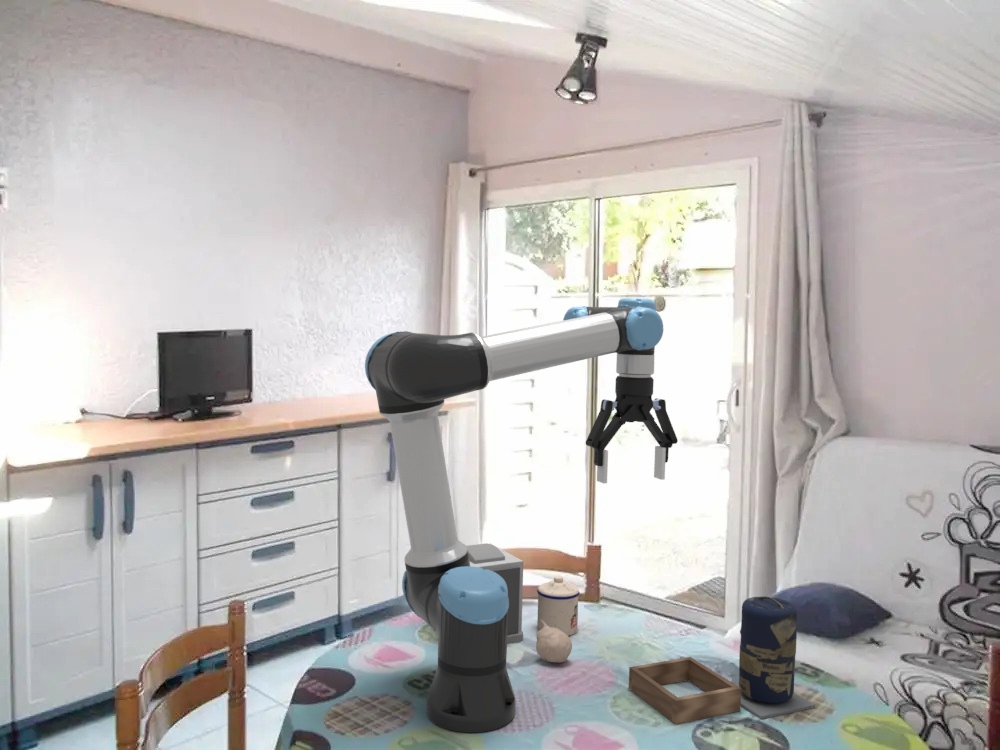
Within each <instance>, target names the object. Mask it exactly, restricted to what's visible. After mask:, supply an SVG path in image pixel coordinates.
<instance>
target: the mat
mask: <svg viewBox="0 0 1000 750" xmlns="http://www.w3.org/2000/svg"><path fill="white" fill-rule="evenodd" d="M734 684H735V685H737V686H738V687H739V682H738V683H734ZM741 707H742V709H744V710H746V711H747V712H749V713H751V714H752V715H754V716H755V717H757V718H758V719H759V720H764V719H767V718H772V717H777V716H778V717H779V716H782V715H788V714H792V713H797V712H801V710H802V711H806V710H809V709H808V708H811V709H813V708H812V707H815V708H816V704H814V703H812V702H811V701H809V700H807V699H805V698H804V697H803V696H801V695H798V694H797V693H796V692H794V693H793V696H792V698H791V699H790V700H788V701H786V702H783V703H764V702H759V701H756V700H753V699H751V698H749V697H747V696H745V695H744V694H743V693H742V692H741ZM741 707H740V708H741ZM805 709H806V710H805Z"/></svg>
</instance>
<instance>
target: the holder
mask: <svg viewBox="0 0 1000 750" xmlns="http://www.w3.org/2000/svg"><path fill="white" fill-rule="evenodd" d="M685 681H687V682H688V681H689V682H690V683H692V684H693V685H695V686H696V687H697V688H700V689H701V690H702V691H704V692H699V693H693V694H689V695H684V696H683V695H682V696H679V697H678V696H676V695H675V693H672V692H671V691H669V690H668V689H667V688H666V687H664V685H671V684H676V683H682V682H685ZM735 684H736V683H733V682H732V681H731V680H728V679H727V678H725V677H724V676H722V675H721V674H719V673H717V672H716V671H714V670H712V669H711V668H709V667H708V666H706V665H705V664H703V663H701V662H700V661H698V660H696V659H695V658H693V657H691V656H688V657H687V656H686V657H683V658H681V657H680V658H676V659H669V660H663V661H657V662H651V663H646V664H639V665H634V666H629V667H628V690H630V691H631V692H632V693H634V694H635V695H636V696H638V697H639V698H640V699H642V700H643V701H645V702H646V703H647V704H648V705H650V706H651V707H652V708H654V709H655V710H656V711H658V712H659V713H660V714H662V715H663V716H664V717H665V718H666V719H668V720H669V721H671V722H672V723H673V724H675V725H678V724H684V723H688V722H693V721H698V720H702V719H703V720H704V719H707V718H712V717H717V716H722V715H727V714H731V713H736V712H737V713H738V712H740V711H741V688H740V687H738V686H737V685H735Z"/></svg>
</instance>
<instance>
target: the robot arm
mask: <svg viewBox="0 0 1000 750" xmlns="http://www.w3.org/2000/svg"><path fill="white" fill-rule="evenodd" d="M663 334H664V322H663V319H662V317H661V315H660V314H659V313H658V311H657V309H656V302H655V301H654V300H653V299H651V298H632V297H629V298H625V297H624V298H623V297H622V298H620V299H619V300H618V304H617V307H614V306H586V305H585V306H583V305H582V306H573V307H570V308H568V309H567V310H566V312H565V314H564V317H563V319H562V320H559V321H555V322H549V323H543V324H539V325H534V326H530V327H525V328H524V327H523V328H520V329H513V330H509V331H505V332H500V333H494V334H489V335H483V336H479V335H478V334H477V333H476V332H468V333H463V334H451V335H449V334H448V335H446V334H445V335H444V334H443V335H442V334H433V333H431V334H430V333H415V332H411V331H407V330H404V331H395V332H390V333H388V334H385V335H382V336H380V337H379V338H378V339H377V340H376V341H375V342H374V343H373V344H372V345H371V347H370V348H369V350H368V351H367V354H366V357H365V361H364V372H365V376H366V378H367V380H368V382H369V385H370V386H371V387H372V388H373V389H374V391H375V393H376V400H377V406H378V412H379V414H380V415H381V416H382V417H383V418H385V419H387V421H388V422H389V423H390V424H389V426H390V430H391V437H392V443H393V448H394V455H395V459H396V460H395V461H396V466H397V467H396V468H397V473H398V478H399V485H400V490H401V496H402V502H403V509H404V513H405V514H404V515H405V521H406V525H407V532H408V536H409V537H408V539H409V545H410V549H409V551H407V553H406V554H405V555H404V560H403V561H404V566H405V571H404V572H403V575H402V580H401V583H402V584H401V588H402V594H403V596H404V600H405V601H406V603H407V606H408V607H409V608H410V609H411V611H412V613H414V614H415V615H416V616H417V617H419V618H420V619H422V620H423V621H424V622H425V623H426V624H427V625H428V626H429V627H430V628H431V629H433V631H435V632H436V633H437V635H438V637H437V641H438V642H437V667H436V671H435V674H434V676H433V679H432V682H431V685H430V687H429V691H428V694H427V696H426V711H425V712H426V716H427V718H428V719H429V720H430V721H431V723H433V724H435V725H436V726H438V727H441V728H443V729H447V730H449V731H450V730H451V731H453V732H454V731H455V732H461V733H482V732H483V733H484V732H488V731H493V730H497V729H500V728H502V727H504V726H506V725H508V724H509V723H510V722H511V721H513V719H514V718H515V715H516V705H517V704H516V703H517V702H516V696H515V692H514V689H513V686H512V683H511V679H510V676H509V672H508V670H507V654H508V653H507V652H508V651H507V648H508V644H507V625H508V608H509V598H508V589H507V585H506V582H505V581H504V579H503V578H502V577H501V576H500V575H498V574H497V573H495V572H493V571H491V570H488V569H487V570H483V569H482V568H480V567H472V566H470V561H469V555H468V549H467V546H468V545H466V544H465V543H464V542H462V541H460V540H459V539H458V535H457V527H456V521H455V514H454V509H453V503H452V502H453V501H452V496H451V490H450V484H449V478H448V471H447V464H446V457H445V452H444V446H443V439H442V434H441V432H442V431H441V427H440V422H439V421H440V420H439V411H441V409H442V407H443V406H444V405H445V400H447V399H450V398H453V397H458V396H461V395H464V394H468V393H472V392H475V391H481V390H484V389H486V388H487V387H488V385H489V383H490V382H493V381H496V380H500V379H501V380H502V379H505V378H510V377H513V376H518V375H523V374H526V373H532V372H535V371H536V372H537V371H540V370H545V369H548V368H554V367H557V366H562V365H565V364H570V363H574V362H579V361H583V360H588V359H592V358H597V357H601V356H605V355H610V354H616V366H615V367H616V368H615V371H616V374H618V375H617V376H616V377H615V385H614V386H615V391H614V392H615V397H616V398H615V400H609V399H602V400H601V404H600V410H599V413H598V414H597V417H596V419H595V420H594V423H593V424H592V427H591V430H590V432H589V433H588V437H587V439H586V440H585V445H586V446H587V447H590V448H592V449H593V450H594V454H593V455H594V456H593V457H594V458H593V459H594V460H593V463H594V466H596V467H597V468H596V482H599V483H602V484H607V483H608V466H609V465H608V463H609V450H606V447H607V446H608V444H610V443H611V441H612V439H613V438H614V437H615V435H616V434H617V433H618V431H619V430H620V429H621V427H622V426H624V425H625V424H626V423H634V422H638V423H643V424H644V425H645V427H646V428H647V429H648V431H649V433H650V434H651V436H653V438H654V439H655V441H656V443H657V444H658V445H654V467H653V477H654V478H655V479H658V480H663V481H664V480H665V476H666V475H665V474H666V473H665V472H666V463H668V460H669V450H670V449H671V448H672V447H673V445H674V444H675V445H676V444H678V437H677V435H676V433H675V430H674V428H673V424H672V422H671V420H670V417H669V414H668V412H667V407H666V406H667V405H666V404H667V403H666V399H662V398H657V397H656V398H654V399H652V398H653V397H652V396H653V395H654V380H655V379H654V378H653V377H652V375H654V374H655V347H656V346H657V345H658V344H659V342H660V341H661V340H662V338H663ZM652 409H653V410H654V413H655V416H656V418H657V421H658V423H659V425H658V424H657V422H656V421H655V417H654V416H653V414H652V413H651V410H652ZM614 410H615V413H614V414H613V416H612V417H611V415H612V412H613V411H614ZM610 418H611V420H610ZM609 420H610V422H609Z"/></svg>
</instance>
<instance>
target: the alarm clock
mask: <svg viewBox="0 0 1000 750" xmlns="http://www.w3.org/2000/svg"><path fill="white" fill-rule="evenodd" d="M466 546H467V549H468V555H469V561H470V566H472V567H480V568H482V569H483V570H487V569H488V570H491V571H493V572H495V573H497V574H498V575H500V576H501V577H502V578H503V579H504V581H505V582H506V585H507V589H508V598H509V608H508V625H507V645H512V644H517V643H522V642H524V631H523V630H522V629H523V626H522V625H523V622H522V621H523V595H524V594H523V593H524V592H523V590H524V589H523V587H524V585H523V584H524V560H523V559H520V558H518V557H516V556H514V555H513V554H511V553H509V552H508V551H505V550H504V549H501V548H500V547H498V546H497V545H494V544H492V543H487V542H486V543H479V544H469V545H466ZM521 641H522V642H521Z"/></svg>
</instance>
